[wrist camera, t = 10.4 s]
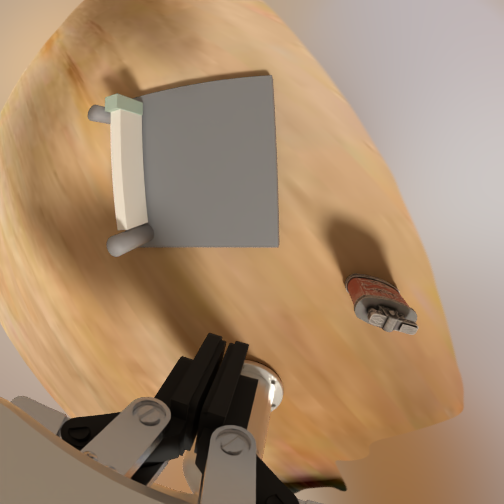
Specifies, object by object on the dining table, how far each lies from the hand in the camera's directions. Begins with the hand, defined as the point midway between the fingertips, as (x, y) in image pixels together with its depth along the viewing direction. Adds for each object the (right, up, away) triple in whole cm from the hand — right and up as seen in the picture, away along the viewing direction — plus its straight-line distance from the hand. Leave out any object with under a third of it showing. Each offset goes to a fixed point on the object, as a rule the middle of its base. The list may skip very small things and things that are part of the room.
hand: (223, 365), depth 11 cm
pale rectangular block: (-14, +16, +22) cm, 31 cm away
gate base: (-6, +16, +23) cm, 29 cm away
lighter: (+17, 0, +24) cm, 29 cm away
